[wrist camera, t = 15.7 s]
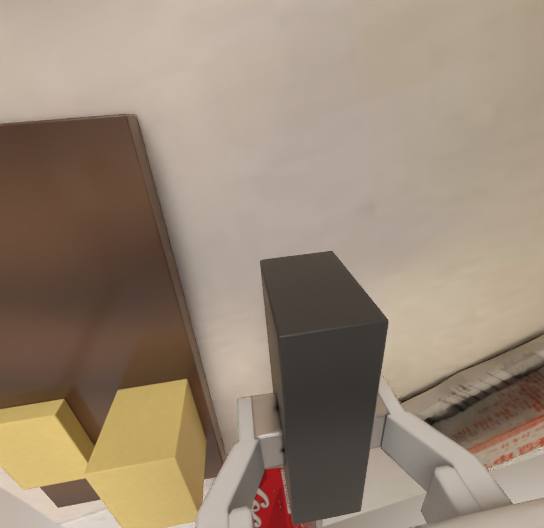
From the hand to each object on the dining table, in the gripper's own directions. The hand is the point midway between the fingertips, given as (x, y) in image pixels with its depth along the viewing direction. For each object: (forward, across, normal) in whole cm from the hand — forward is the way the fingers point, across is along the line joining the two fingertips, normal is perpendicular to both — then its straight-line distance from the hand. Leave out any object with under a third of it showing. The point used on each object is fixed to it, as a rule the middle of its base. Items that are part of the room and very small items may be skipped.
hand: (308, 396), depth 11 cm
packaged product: (+9, -18, +16) cm, 25 cm away
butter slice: (+6, +14, +9) cm, 18 cm away
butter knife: (+2, 0, +4) cm, 4 cm away
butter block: (+7, +9, +9) cm, 14 cm away
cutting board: (+8, +13, +4) cm, 16 cm away
